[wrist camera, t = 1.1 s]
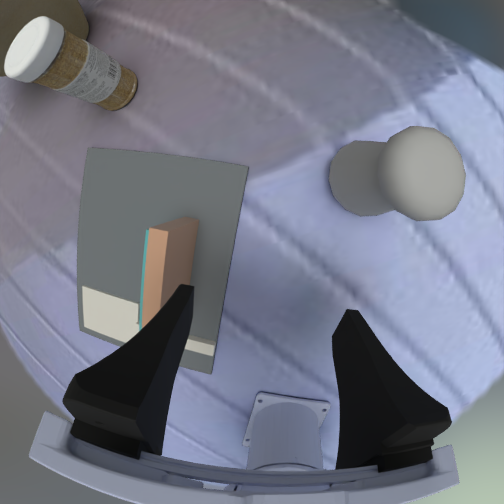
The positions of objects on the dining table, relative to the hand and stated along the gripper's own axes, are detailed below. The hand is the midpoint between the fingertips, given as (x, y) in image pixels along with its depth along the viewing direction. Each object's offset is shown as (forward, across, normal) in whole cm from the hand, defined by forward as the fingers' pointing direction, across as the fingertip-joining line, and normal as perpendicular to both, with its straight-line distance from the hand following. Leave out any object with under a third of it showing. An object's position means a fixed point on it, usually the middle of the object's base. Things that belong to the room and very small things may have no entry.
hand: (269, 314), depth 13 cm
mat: (+11, +10, +7) cm, 16 cm away
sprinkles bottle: (+17, +16, -7) cm, 25 cm away
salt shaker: (+13, -7, -3) cm, 15 cm away
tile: (+10, +6, +6) cm, 14 cm away
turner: (+8, +10, +13) cm, 19 cm away
